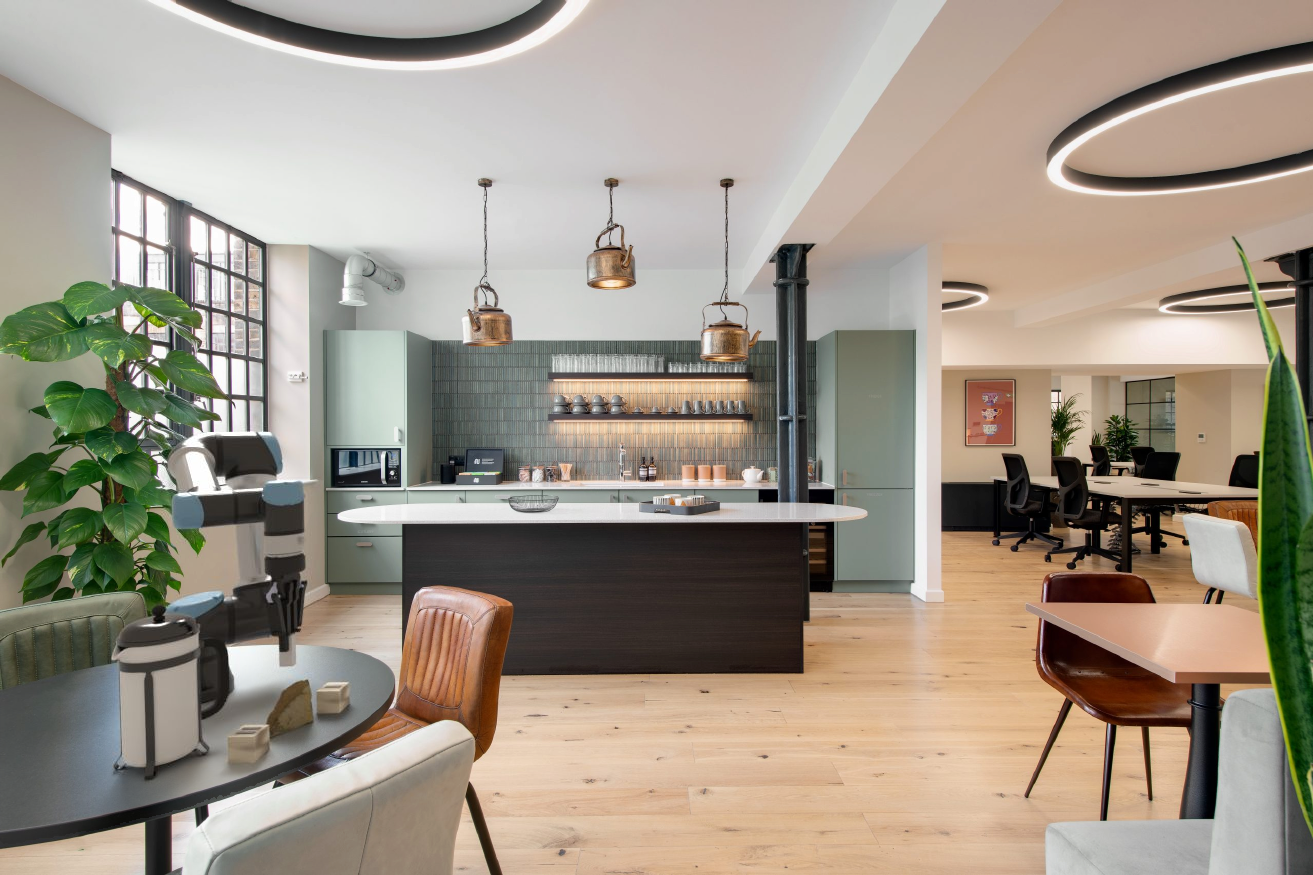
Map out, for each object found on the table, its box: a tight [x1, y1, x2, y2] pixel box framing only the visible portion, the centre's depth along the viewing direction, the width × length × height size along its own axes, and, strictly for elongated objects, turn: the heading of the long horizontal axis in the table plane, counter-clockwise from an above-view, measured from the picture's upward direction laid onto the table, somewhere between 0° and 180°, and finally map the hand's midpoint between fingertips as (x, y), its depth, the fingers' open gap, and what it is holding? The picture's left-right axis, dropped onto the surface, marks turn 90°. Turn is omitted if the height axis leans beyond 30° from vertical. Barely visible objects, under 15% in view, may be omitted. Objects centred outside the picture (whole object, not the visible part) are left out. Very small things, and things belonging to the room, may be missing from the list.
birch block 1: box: [226, 724, 271, 764], centre depth 126 cm, size 5×5×5 cm
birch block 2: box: [315, 681, 351, 714], centre depth 147 cm, size 5×5×5 cm
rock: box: [265, 678, 314, 738], centre depth 138 cm, size 11×9×10 cm
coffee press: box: [111, 604, 230, 781], centre depth 126 cm, size 17×16×30 cm
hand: (287, 665), depth 138 cm, fingers closed
